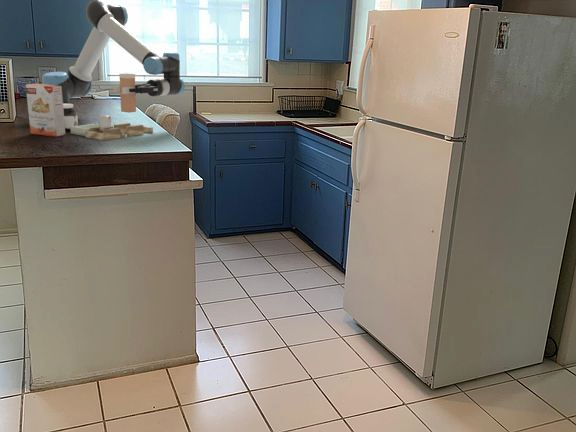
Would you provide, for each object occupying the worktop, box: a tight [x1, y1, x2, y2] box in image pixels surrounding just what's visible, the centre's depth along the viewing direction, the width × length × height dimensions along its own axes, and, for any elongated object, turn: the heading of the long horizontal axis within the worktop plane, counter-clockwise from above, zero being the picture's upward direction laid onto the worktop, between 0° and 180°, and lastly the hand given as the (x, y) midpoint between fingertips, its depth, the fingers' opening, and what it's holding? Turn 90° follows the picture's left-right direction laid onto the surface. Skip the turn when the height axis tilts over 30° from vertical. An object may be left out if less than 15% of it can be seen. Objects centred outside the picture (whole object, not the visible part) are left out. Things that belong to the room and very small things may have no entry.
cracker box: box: [25, 83, 67, 138], centre depth 238 cm, size 14×6×21 cm, turn 70°
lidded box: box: [118, 73, 137, 114], centre depth 246 cm, size 5×5×16 cm
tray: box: [69, 123, 114, 137], centre depth 248 cm, size 12×14×3 cm
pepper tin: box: [97, 114, 112, 133], centre depth 239 cm, size 5×5×9 cm
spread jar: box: [63, 103, 79, 133], centre depth 253 cm, size 12×11×12 cm
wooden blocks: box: [85, 122, 154, 141], centre depth 247 cm, size 12×28×4 cm, turn 148°
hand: (118, 90), depth 241 cm, fingers closed on lidded box, 5 cm apart
